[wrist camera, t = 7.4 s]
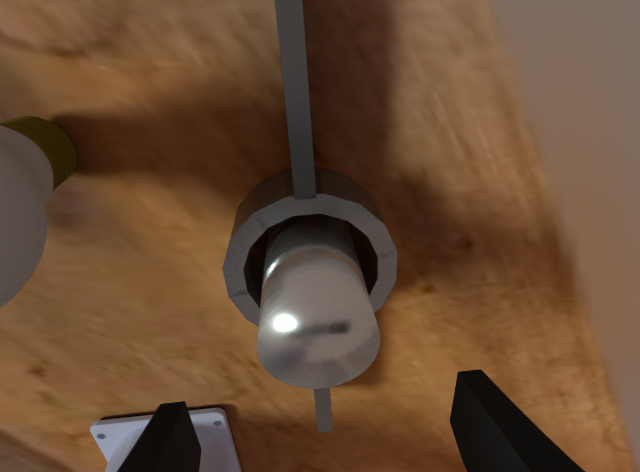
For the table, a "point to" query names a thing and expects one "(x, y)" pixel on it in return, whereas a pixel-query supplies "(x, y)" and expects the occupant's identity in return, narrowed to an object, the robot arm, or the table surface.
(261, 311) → the hinge pin
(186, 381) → the table surface
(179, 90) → the table surface
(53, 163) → the light bulb
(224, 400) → the table surface
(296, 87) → the hinge
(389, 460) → the table surface
